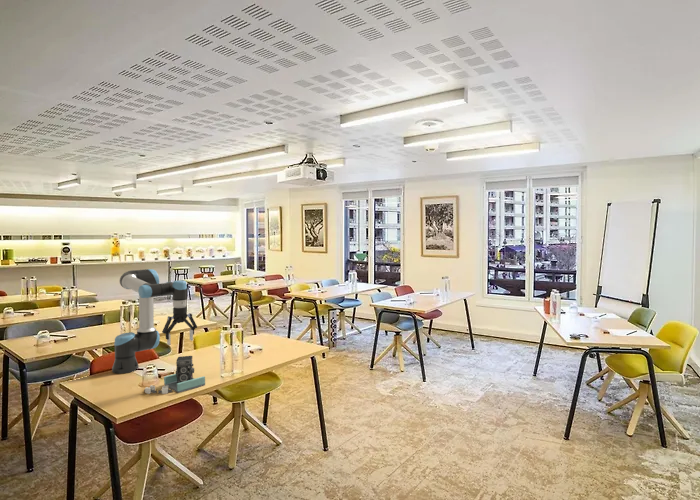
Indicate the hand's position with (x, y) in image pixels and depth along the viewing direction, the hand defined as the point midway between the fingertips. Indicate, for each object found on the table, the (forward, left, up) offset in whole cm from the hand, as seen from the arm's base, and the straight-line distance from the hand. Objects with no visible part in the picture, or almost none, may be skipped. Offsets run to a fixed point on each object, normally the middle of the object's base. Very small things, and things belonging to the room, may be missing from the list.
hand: (180, 342), depth 249 cm
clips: (+5, -15, -24) cm, 29 cm away
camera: (+5, 0, -24) cm, 24 cm away
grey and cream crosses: (+4, -15, -24) cm, 29 cm away
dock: (+5, 0, -24) cm, 25 cm away
